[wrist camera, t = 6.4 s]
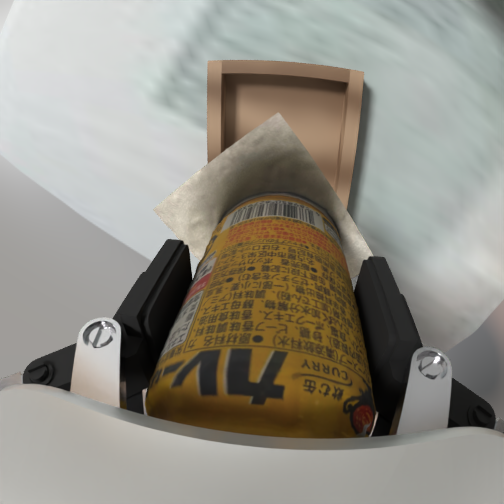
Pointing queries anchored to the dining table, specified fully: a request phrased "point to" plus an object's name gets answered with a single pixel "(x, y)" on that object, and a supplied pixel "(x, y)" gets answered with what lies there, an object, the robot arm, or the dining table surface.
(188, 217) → the condiment
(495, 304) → the dining table surface
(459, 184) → the dining table surface
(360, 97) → the serving tray
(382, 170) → the dining table surface
